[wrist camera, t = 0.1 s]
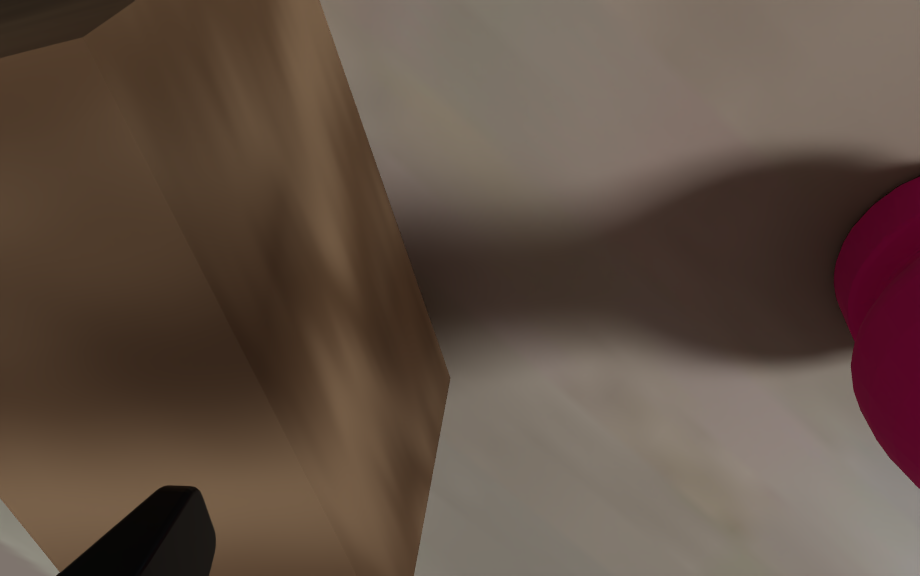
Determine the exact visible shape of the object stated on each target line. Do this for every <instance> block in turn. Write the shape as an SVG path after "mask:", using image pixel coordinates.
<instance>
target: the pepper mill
mask: <svg viewBox="0 0 920 576" xmlns="http://www.w3.org/2000/svg"><path fill="white" fill-rule="evenodd" d="M834 288H835V295H836V299H837V301H838V304H839V307H840V309H841V312H842V314H843V316H844V319H845V321H846V323H847V326H848V328H849V330H850V333H851V335H852V337H853V339H854V341H855V344H854V348H853V354H852V361H851V372H852V381H853V389H854V393H855V396H856V399H857V402H858V404H859V407H860V410H861V412H862V414H863V416H864V417H865V419H866V421H867V423H868V425H869V427H870V428H871V430H872V432H873V434H874V436H875V438H876V440H877V441H878V442H879V444H880V445H881V447H882V448H883V449H884V451H885V452H886V453H887V455H888V456H889V458H890V459H891V460H892V461H893V462H894V463H895V464H896V465H897V466H898V467H899V468H900V469H901V470H902V471H903V472H904V473H905V474H906V475H907V476H908V477H909V479H910V480H911V481H912V482H913V483H914V484H915V485H916V486H917V487H918V488H920V177H918V178H915V179H913V180H911V181H909V182H907V183H904V184H902V185H900V186H898V187H897V188H896V189H894V190H893V191H891V192H890V193H889V194H887V195H886V196H885V197H883V198H882V199H881V200H879V201H878V202H877V203H875V204H874V205H873V206H872V207H871V208H870V209H869V210H868V211H867V212H866V213H865V214H864V215H863V216H862V218H861V219H860V220H859V221H858V222H857V223H856V224H855V225H854V227H853V228H852V229H851V231H850V232H849V234H848V236H847V237H846V239H845V241H844V242H843V245H842V248H841V250H840V253H839V256H838V258H837V261H836V266H835V271H834Z"/></svg>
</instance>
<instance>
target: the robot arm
mask: <svg viewBox="0 0 920 576" xmlns="http://www.w3.org/2000/svg"><path fill="white" fill-rule="evenodd" d="M215 549H216V534H215V529H214V527H213V524H212V521H211V518H210V515H209V513H208V510H207V507H206V504H205V501H204V498H203V496H202V493H201V491H200V490H199V489H198V488H196V487H193V486H177V485H167V486H163V487H161V488H159V489H158V490H156V491H155V492H154V493H153V494H151V495H150V496H149V497H148V498H147V499H145V500H144V501H143V502H142V503H141V504H140V505H138V506H137V507H136V508H135V509H134V510H133V511H131V512H130V513H129V514H128V515H127V516H126V517H124V518H123V519H122V520H121V521H120V522H119V523H117V524H116V525H115V526H114V527H113V528H112V529H110V530H109V531H108V532H107V533H106V534H104V535H103V536H102V537H101V538H100V539H99V540H97V541H96V542H95V543H94V544H93V545H92V546H90V547H89V548H88V549H87V550H86V551H85V552H83V553H82V554H81V555H80V556H79V557H78V558H76V559H75V560H74V561H73V562H72V563H71V564H69V565H68V566H67V567H66V568H65V569H64V570H62V571H61V572H60V573H59V574H58V575H56V576H209V574H210V570H211V566H212V562H213V558H214V554H215Z"/></svg>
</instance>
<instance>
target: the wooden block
mask: <svg viewBox="0 0 920 576" xmlns="http://www.w3.org/2000/svg"><path fill="white" fill-rule="evenodd" d="M449 382H450V376H449V373H448V370H447V367H446V364H445V361H444V358H443V355H442V352H441V350H440V347H439V344H438V341H437V338H436V335H435V332H434V329H433V327H432V324H431V321H430V318H429V315H428V312H427V309H426V306H425V303H424V301H423V298H422V295H421V292H420V289H419V286H418V283H417V280H416V278H415V275H414V272H413V269H412V266H411V263H410V260H409V257H408V254H407V252H406V249H405V246H404V243H403V240H402V237H401V234H400V231H399V229H398V226H397V223H396V220H395V217H394V214H393V211H392V208H391V205H390V203H389V200H388V197H387V194H386V191H385V188H384V185H383V182H382V180H381V177H380V174H379V171H378V168H377V165H376V162H375V159H374V156H373V154H372V151H371V148H370V145H369V142H368V139H367V136H366V133H365V131H364V128H363V125H362V122H361V119H360V116H359V113H358V110H357V107H356V105H355V102H354V99H353V96H352V93H351V90H350V87H349V84H348V82H347V79H346V76H345V73H344V70H343V67H342V64H341V61H340V58H339V56H338V53H337V50H336V47H335V44H334V41H333V38H332V35H331V33H330V30H329V27H328V24H327V21H326V18H325V15H324V12H323V9H322V7H321V4H320V1H319V0H0V498H1V500H2V501H3V502H4V503H5V505H6V506H7V507H8V508H9V510H10V511H11V512H12V513H13V514H14V516H15V517H16V518H17V519H18V521H19V522H20V523H21V524H22V526H23V527H24V528H25V529H26V531H27V532H28V533H29V534H30V536H31V537H32V538H33V539H34V541H35V542H36V543H37V544H38V545H39V547H40V548H41V549H42V550H43V552H44V553H45V554H46V555H47V557H48V558H49V559H50V560H51V562H52V563H53V564H54V565H55V567H56V568H57V569H58V570H59V572H61V571H62V570H64V569H65V568H66V567H67V566H68V565H69V564H71V563H72V562H73V561H74V560H75V559H76V558H78V557H79V556H80V555H81V554H82V553H83V552H85V551H86V550H87V549H88V548H89V547H90V546H92V545H93V544H94V543H95V542H96V541H97V540H99V539H100V538H101V537H102V536H103V535H104V534H106V533H107V532H108V531H109V530H110V529H112V528H113V527H114V526H115V525H116V524H117V523H119V522H120V521H121V520H122V519H123V518H124V517H126V516H127V515H128V514H129V513H130V512H131V511H133V510H134V509H135V508H136V507H137V506H138V505H140V504H141V503H142V502H143V501H144V500H145V499H147V498H148V497H149V496H150V495H151V494H153V493H154V492H155V491H156V490H158V489H159V488H161V487H163V486H167V485H177V486H193V487H196V488H198V489H199V490H200V491H201V493H202V496H203V498H204V501H205V504H206V507H207V510H208V513H209V515H210V518H211V521H212V524H213V527H214V529H215V534H216V549H215V554H214V558H213V562H212V566H211V570H210V574H209V576H414V571H415V566H416V561H417V555H418V550H419V544H420V539H421V534H422V528H423V523H424V517H425V512H426V507H427V501H428V496H429V490H430V485H431V480H432V474H433V469H434V463H435V458H436V453H437V447H438V442H439V436H440V431H441V426H442V420H443V415H444V409H445V404H446V399H447V393H448V388H449Z"/></svg>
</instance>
